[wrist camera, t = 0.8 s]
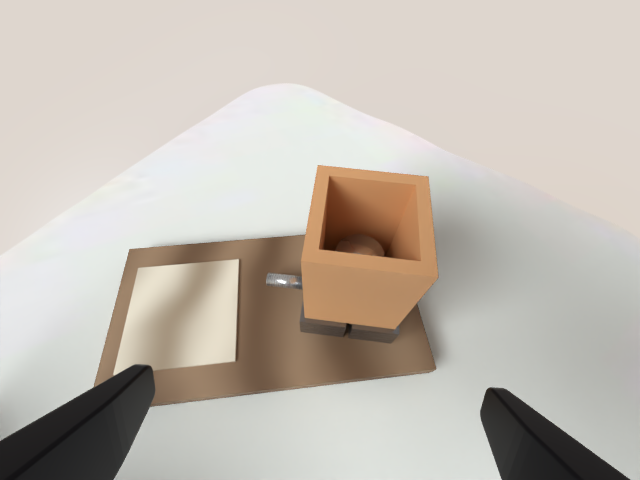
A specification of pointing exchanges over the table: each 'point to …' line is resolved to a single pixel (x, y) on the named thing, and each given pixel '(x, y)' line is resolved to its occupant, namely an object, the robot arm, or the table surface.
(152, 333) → the board
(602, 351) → the table surface
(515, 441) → the robot arm
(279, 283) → the vise
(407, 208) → the tan cardboard box
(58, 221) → the table surface
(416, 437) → the table surface
